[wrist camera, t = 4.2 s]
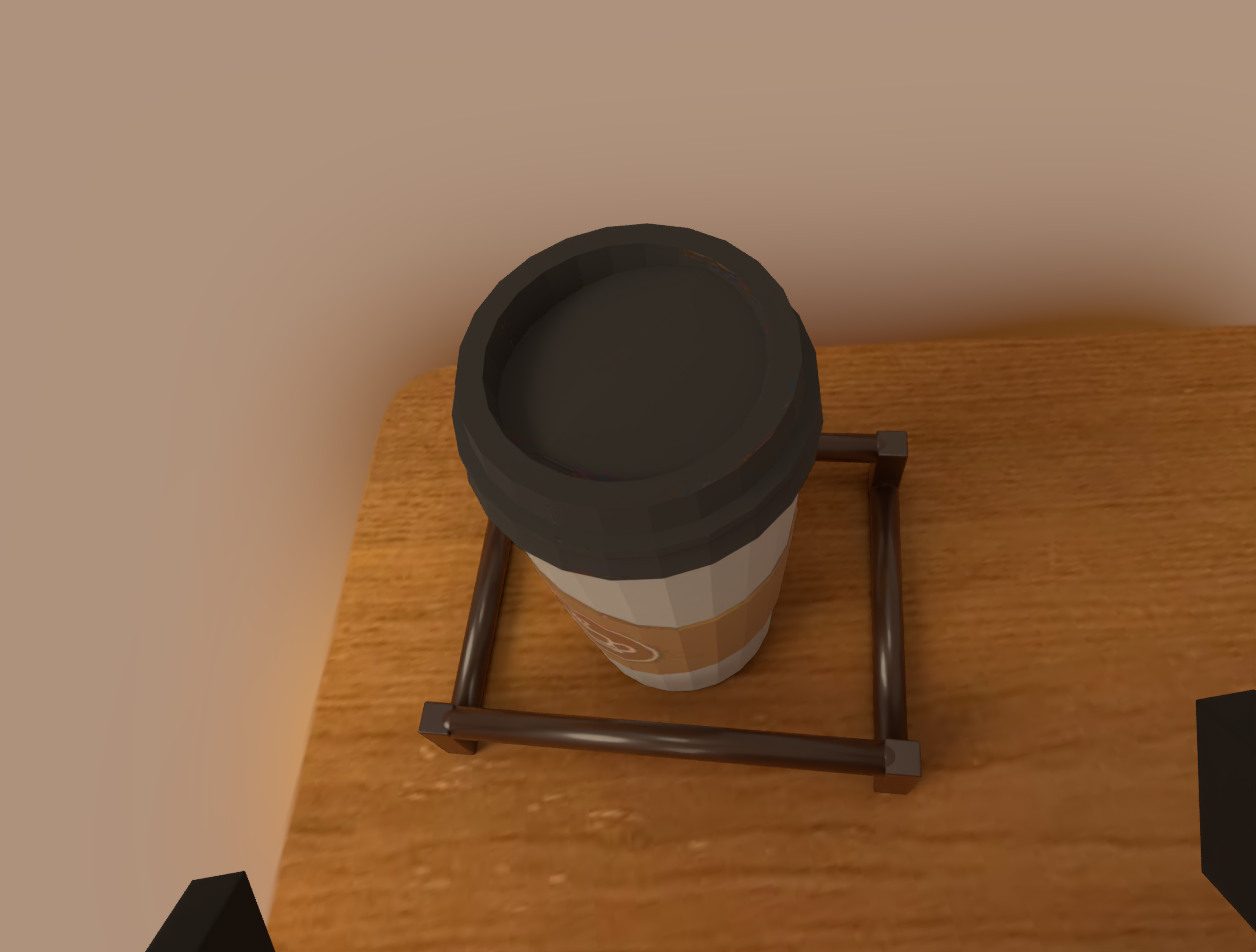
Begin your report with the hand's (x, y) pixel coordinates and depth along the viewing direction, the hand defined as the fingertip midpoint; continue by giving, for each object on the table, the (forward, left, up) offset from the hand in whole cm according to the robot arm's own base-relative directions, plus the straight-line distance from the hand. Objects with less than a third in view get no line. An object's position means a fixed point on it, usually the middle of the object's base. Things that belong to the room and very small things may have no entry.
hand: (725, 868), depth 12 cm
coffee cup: (-3, +10, -17) cm, 19 cm away
